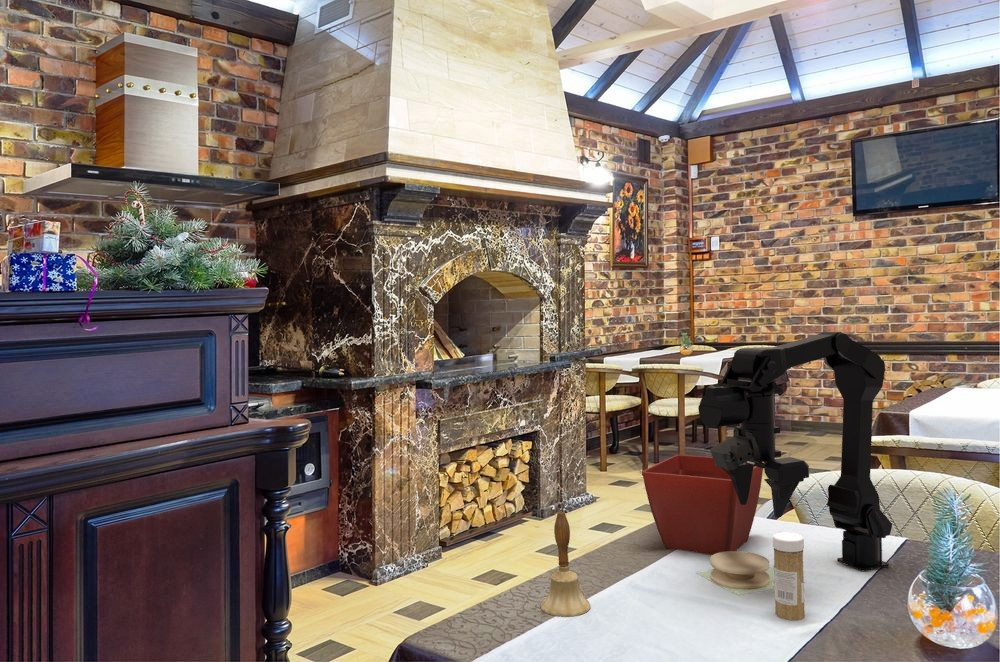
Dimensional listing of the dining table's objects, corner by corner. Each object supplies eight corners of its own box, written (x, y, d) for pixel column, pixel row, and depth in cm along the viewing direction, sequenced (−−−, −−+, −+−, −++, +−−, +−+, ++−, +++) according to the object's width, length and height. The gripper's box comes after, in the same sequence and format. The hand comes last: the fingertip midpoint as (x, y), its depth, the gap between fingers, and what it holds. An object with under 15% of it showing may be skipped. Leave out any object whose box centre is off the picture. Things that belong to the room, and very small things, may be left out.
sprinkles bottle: (811, 622, 121) (810, 536, 121) (793, 629, 119) (791, 541, 118) (786, 612, 125) (784, 529, 125) (767, 620, 123) (766, 534, 122)
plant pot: (642, 553, 157) (640, 470, 156) (678, 529, 173) (676, 453, 172) (737, 569, 146) (735, 479, 145) (766, 542, 162) (765, 461, 161)
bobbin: (744, 566, 145) (744, 548, 144) (782, 583, 135) (782, 564, 135) (699, 574, 141) (698, 555, 141) (734, 593, 132) (733, 573, 132)
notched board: (759, 567, 147) (759, 561, 147) (805, 587, 136) (805, 582, 136) (695, 578, 142) (695, 572, 142) (738, 601, 131) (738, 595, 131)
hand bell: (557, 621, 125) (554, 521, 124) (531, 604, 132) (528, 510, 132) (600, 610, 129) (597, 513, 128) (573, 594, 136) (570, 503, 136)
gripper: (686, 419, 141) (689, 504, 142) (752, 434, 124) (756, 531, 124) (738, 412, 145) (741, 496, 146) (809, 426, 127) (813, 521, 128)
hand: (760, 510), depth 136 cm, fingers open, 9 cm apart
